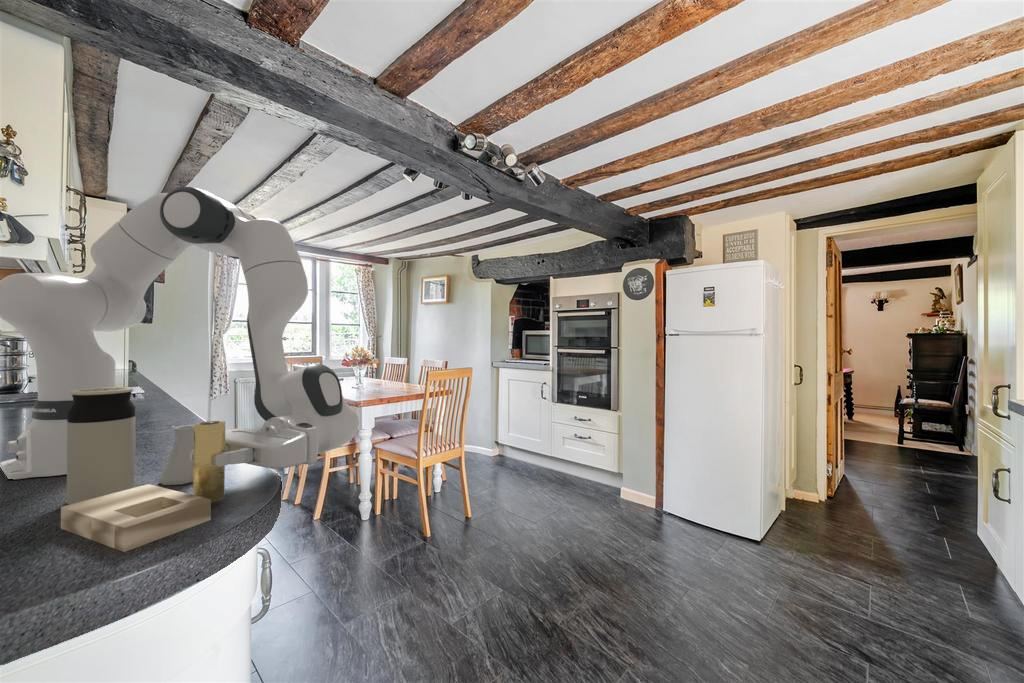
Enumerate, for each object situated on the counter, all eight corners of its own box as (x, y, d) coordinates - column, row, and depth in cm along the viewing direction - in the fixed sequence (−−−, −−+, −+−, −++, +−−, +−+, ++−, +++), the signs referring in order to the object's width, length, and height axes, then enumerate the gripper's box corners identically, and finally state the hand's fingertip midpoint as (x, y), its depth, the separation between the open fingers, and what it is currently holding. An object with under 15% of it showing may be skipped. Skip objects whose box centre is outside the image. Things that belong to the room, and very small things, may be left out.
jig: (60, 528, 57) (60, 506, 57) (148, 502, 66) (148, 484, 66) (124, 552, 50) (124, 527, 50) (210, 519, 60) (210, 499, 60)
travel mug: (137, 497, 68) (138, 389, 68) (66, 511, 62) (67, 393, 62) (131, 485, 74) (132, 385, 74) (66, 498, 68) (67, 389, 68)
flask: (181, 488, 73) (181, 431, 73) (148, 485, 74) (148, 429, 74) (218, 475, 80) (218, 424, 80) (187, 472, 81) (188, 422, 81)
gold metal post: (186, 501, 63) (187, 423, 63) (214, 493, 67) (215, 419, 67) (203, 506, 62) (204, 425, 62) (230, 497, 65) (231, 421, 65)
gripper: (247, 417, 80) (164, 431, 68) (324, 427, 72) (246, 445, 60) (246, 449, 80) (163, 469, 68) (323, 463, 72) (246, 489, 60)
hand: (203, 458), depth 64 cm, fingers closed on gold metal post, 4 cm apart
